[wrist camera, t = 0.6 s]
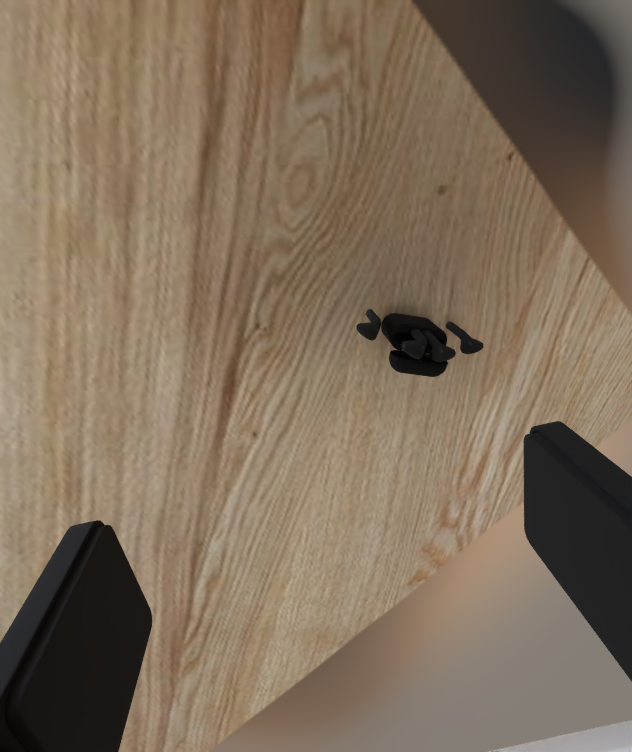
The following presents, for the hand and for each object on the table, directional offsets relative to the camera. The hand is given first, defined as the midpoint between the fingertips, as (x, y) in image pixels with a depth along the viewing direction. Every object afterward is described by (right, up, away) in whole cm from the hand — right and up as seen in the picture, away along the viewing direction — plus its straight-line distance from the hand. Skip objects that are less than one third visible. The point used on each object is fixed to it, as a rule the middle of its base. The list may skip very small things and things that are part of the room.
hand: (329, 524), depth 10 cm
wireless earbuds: (+5, +6, +17) cm, 19 cm away
